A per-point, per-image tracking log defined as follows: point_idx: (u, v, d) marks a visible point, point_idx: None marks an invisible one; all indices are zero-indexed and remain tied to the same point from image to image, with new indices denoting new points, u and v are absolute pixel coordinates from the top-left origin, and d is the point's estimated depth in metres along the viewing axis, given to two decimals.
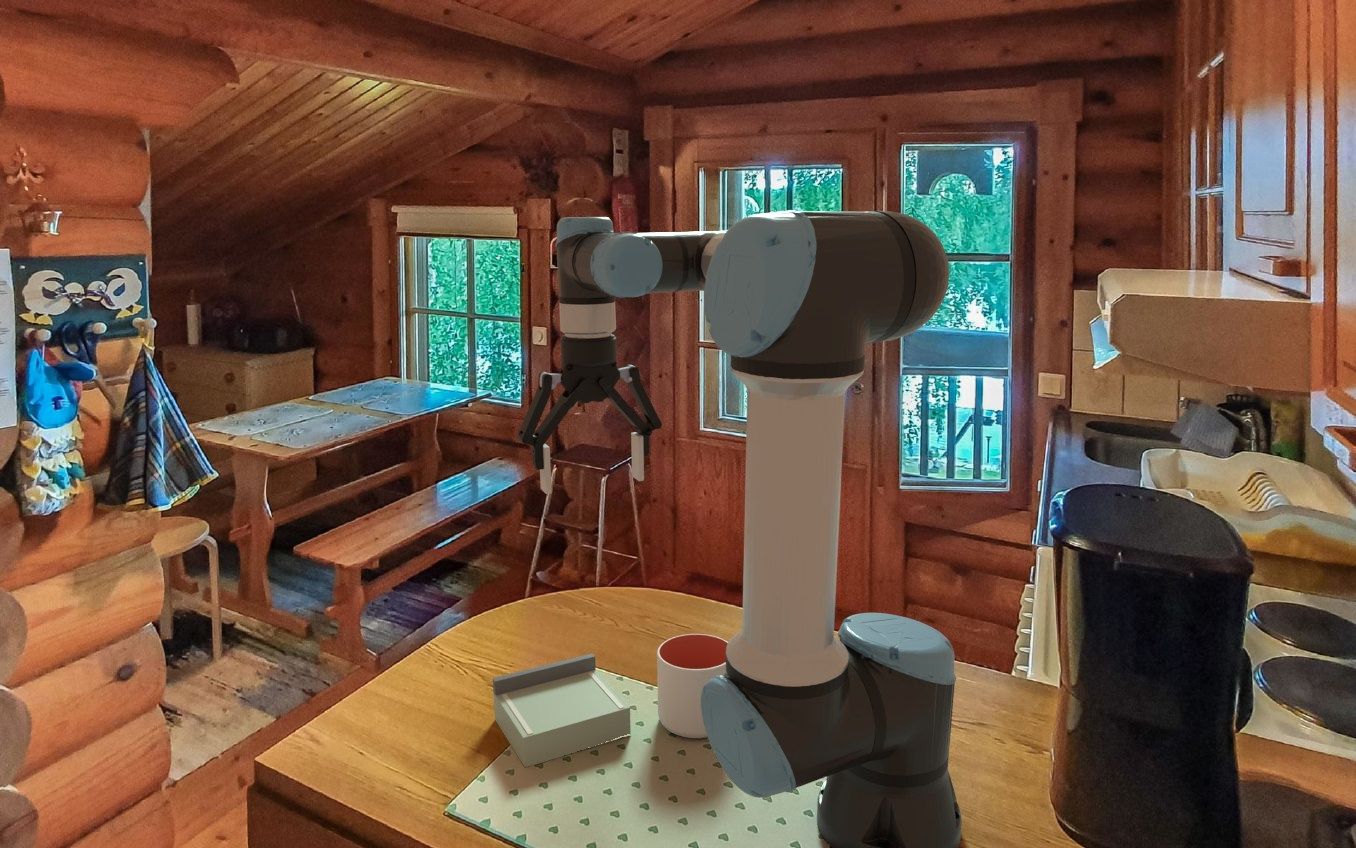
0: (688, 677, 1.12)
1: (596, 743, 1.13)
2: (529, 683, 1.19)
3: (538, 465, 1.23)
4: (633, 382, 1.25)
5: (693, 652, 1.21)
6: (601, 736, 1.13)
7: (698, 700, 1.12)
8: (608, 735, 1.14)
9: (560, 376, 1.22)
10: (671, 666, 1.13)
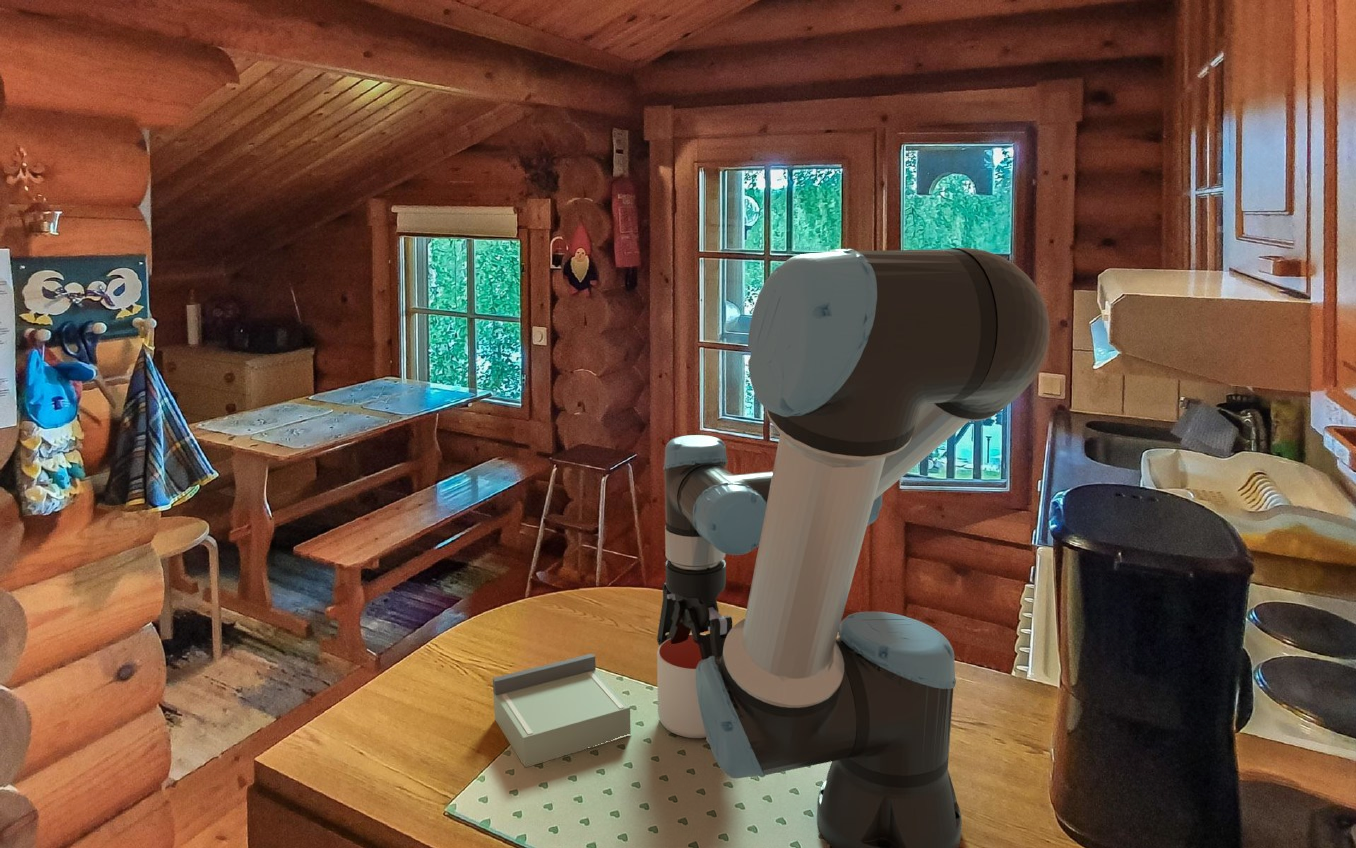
0: (688, 677, 1.12)
1: (596, 743, 1.13)
2: (529, 683, 1.19)
3: None
4: (710, 634, 1.10)
5: (693, 652, 1.21)
6: (601, 736, 1.13)
7: None
8: (608, 735, 1.14)
9: None
10: (671, 666, 1.13)
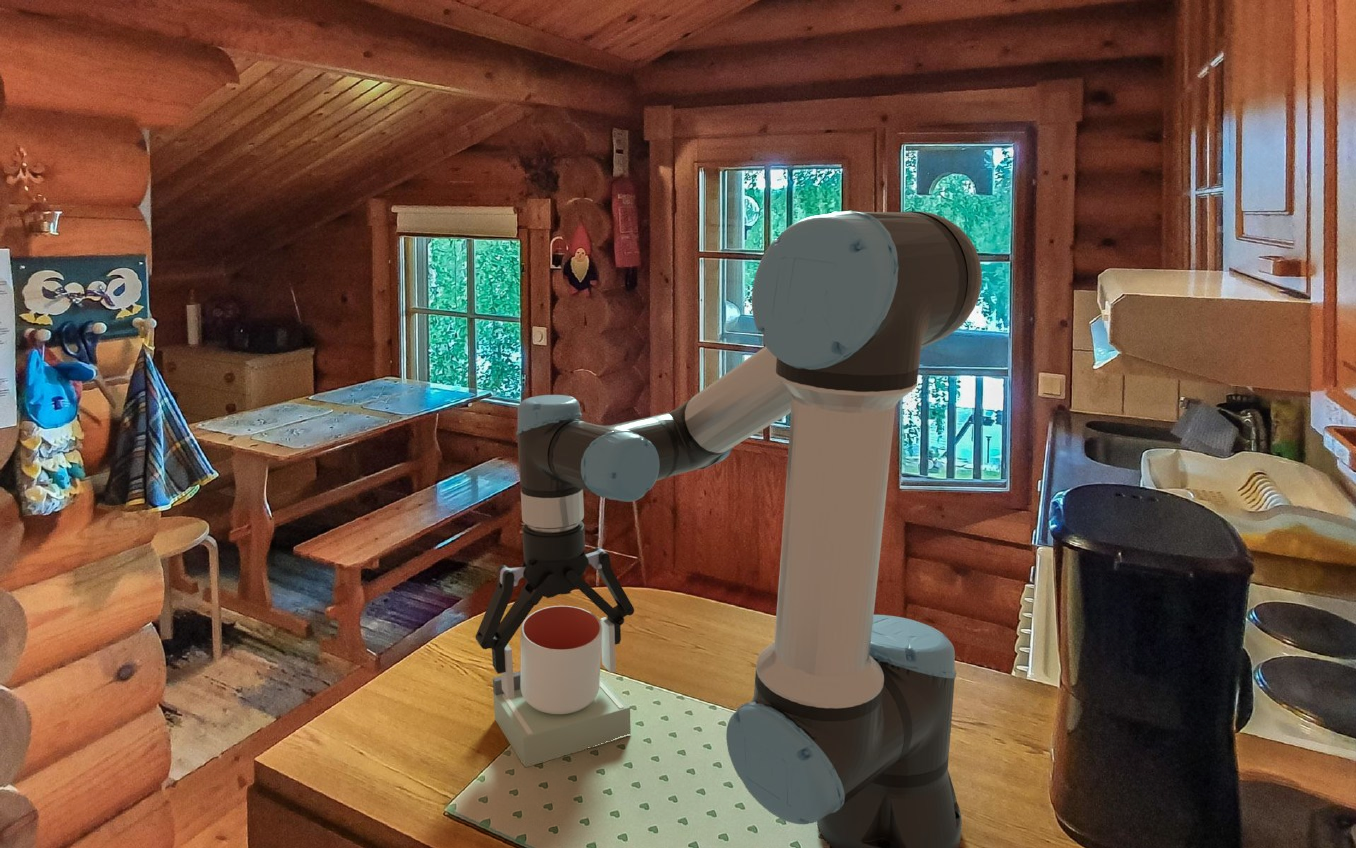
0: (600, 641, 1.12)
1: (596, 743, 1.13)
2: None
3: (499, 668, 1.10)
4: (603, 569, 1.14)
5: None
6: (601, 736, 1.13)
7: (600, 656, 1.14)
8: (608, 735, 1.14)
9: (523, 571, 1.10)
10: (589, 644, 1.10)
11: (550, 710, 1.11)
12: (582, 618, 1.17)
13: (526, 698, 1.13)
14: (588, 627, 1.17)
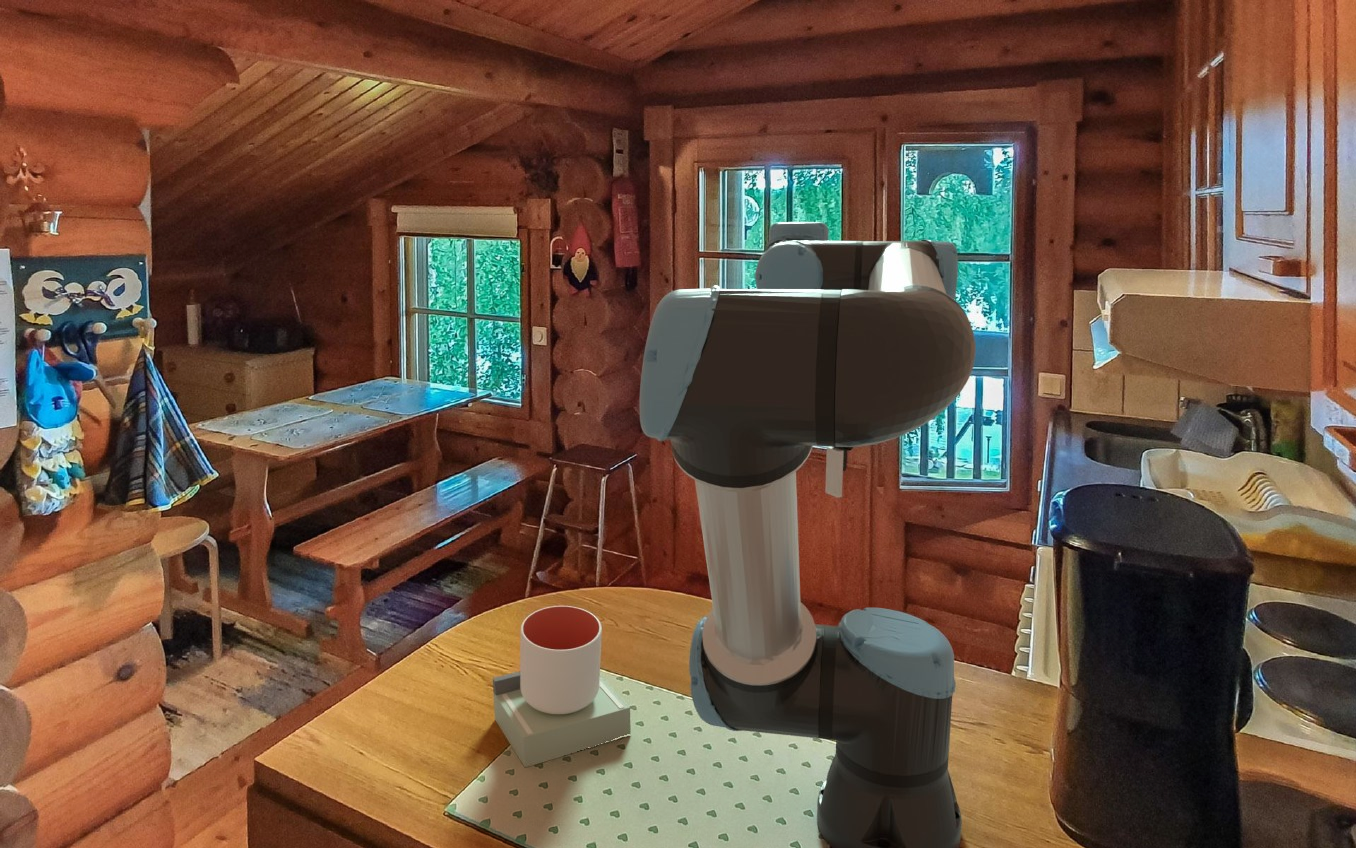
0: (599, 641, 1.12)
1: (596, 743, 1.13)
2: None
3: None
4: None
5: None
6: (601, 736, 1.13)
7: (600, 655, 1.14)
8: (608, 735, 1.14)
9: None
10: (589, 644, 1.10)
11: (550, 710, 1.11)
12: (582, 618, 1.17)
13: (526, 698, 1.13)
14: (588, 627, 1.17)
